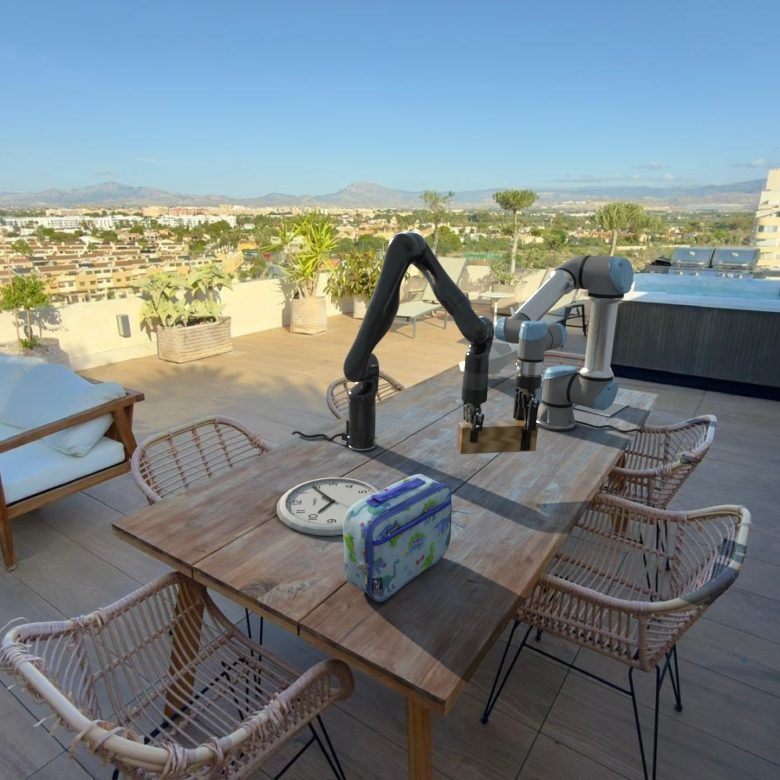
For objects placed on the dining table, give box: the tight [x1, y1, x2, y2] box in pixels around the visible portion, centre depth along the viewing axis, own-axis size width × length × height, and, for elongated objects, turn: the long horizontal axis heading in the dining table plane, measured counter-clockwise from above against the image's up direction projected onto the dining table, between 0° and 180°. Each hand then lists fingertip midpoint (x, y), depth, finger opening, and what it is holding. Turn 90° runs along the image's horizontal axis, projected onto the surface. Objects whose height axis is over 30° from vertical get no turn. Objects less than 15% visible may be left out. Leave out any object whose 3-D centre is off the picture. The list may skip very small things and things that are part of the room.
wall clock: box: [276, 476, 381, 537], centre depth 142 cm, size 30×2×30 cm
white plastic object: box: [458, 306, 544, 387], centre depth 259 cm, size 37×45×31 cm
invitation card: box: [573, 400, 629, 418], centre depth 226 cm, size 21×1×15 cm
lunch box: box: [342, 473, 453, 603], centre depth 112 cm, size 26×11×21 cm, turn 134°
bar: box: [456, 419, 539, 455], centre depth 160 cm, size 24×5×9 cm, turn 98°
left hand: (471, 438), depth 158 cm, fingers closed on bar, 4 cm apart
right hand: (521, 446), depth 162 cm, fingers closed on bar, 5 cm apart
